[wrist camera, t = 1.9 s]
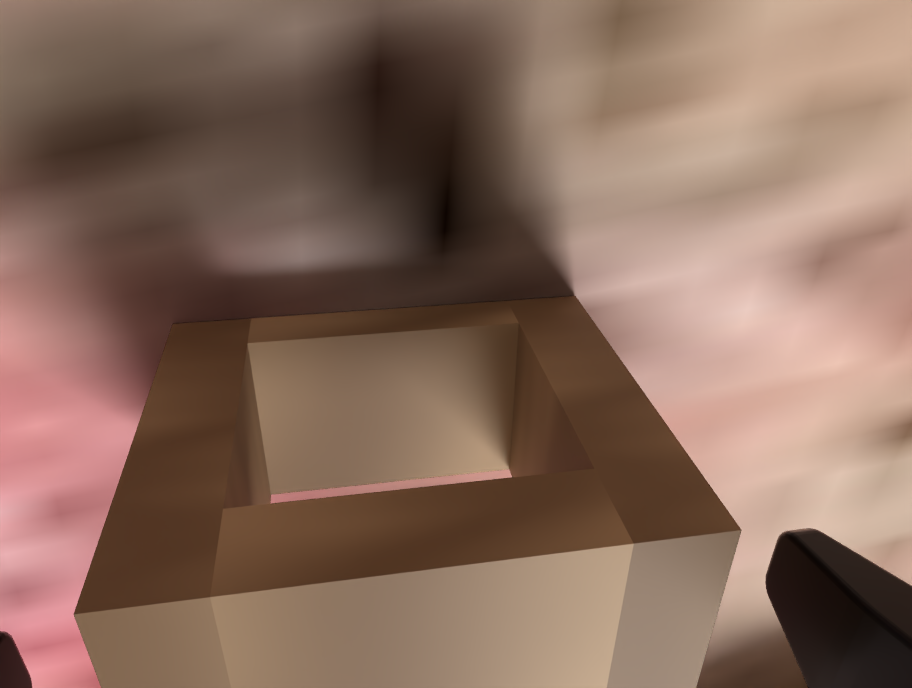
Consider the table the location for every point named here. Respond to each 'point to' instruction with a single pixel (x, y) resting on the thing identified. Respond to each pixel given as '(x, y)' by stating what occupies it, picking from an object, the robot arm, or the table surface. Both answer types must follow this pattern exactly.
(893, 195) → the table surface
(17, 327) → the table surface
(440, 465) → the frame
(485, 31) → the table surface
